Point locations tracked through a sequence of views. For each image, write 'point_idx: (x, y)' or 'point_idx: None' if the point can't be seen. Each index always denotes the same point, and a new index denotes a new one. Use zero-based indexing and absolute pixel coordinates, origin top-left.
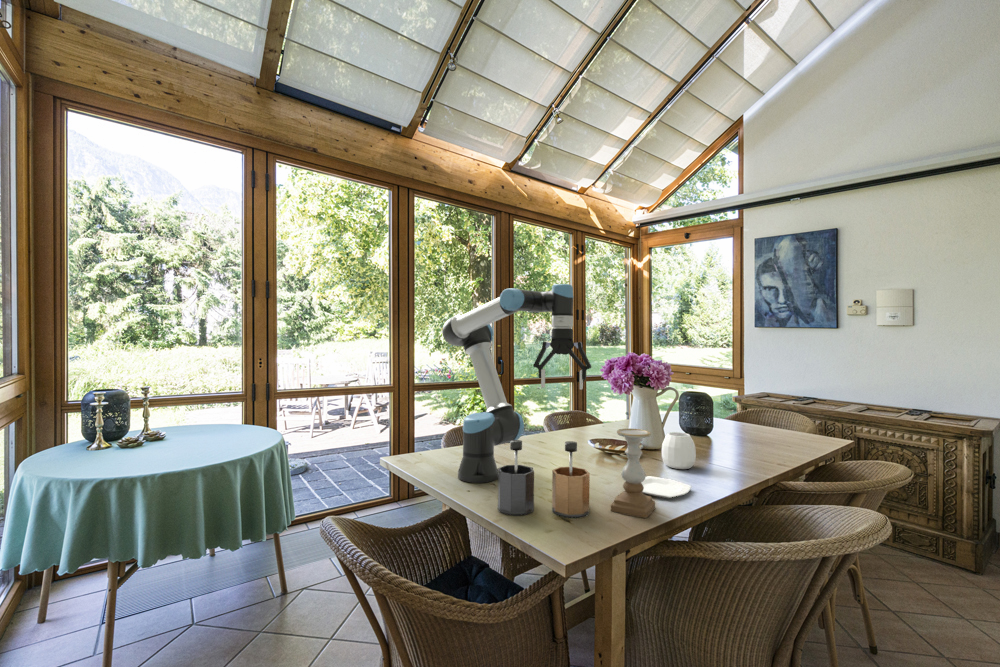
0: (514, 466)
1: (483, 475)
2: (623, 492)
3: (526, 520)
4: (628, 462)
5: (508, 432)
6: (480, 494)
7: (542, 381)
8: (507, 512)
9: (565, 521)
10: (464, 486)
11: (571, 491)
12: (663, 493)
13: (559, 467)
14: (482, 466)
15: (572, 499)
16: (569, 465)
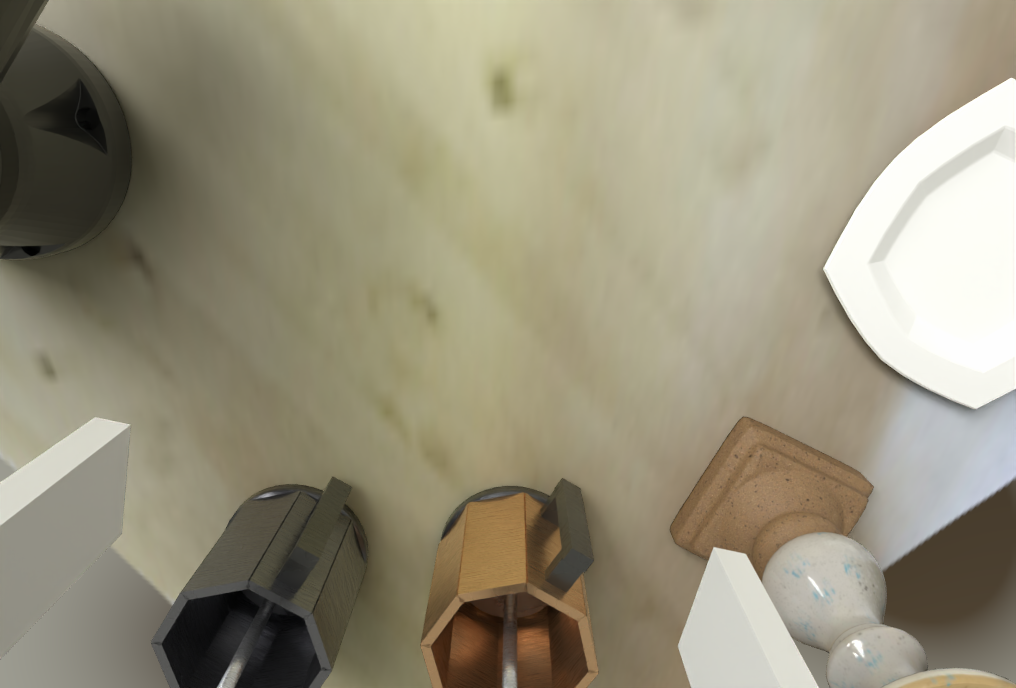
0: (223, 590)
1: (54, 250)
2: (746, 536)
3: (351, 638)
4: (820, 642)
5: (1, 44)
6: (115, 407)
7: (45, 593)
8: None
9: None
10: (4, 308)
11: None
12: (960, 373)
13: (455, 603)
14: (13, 244)
15: None
16: (502, 683)
